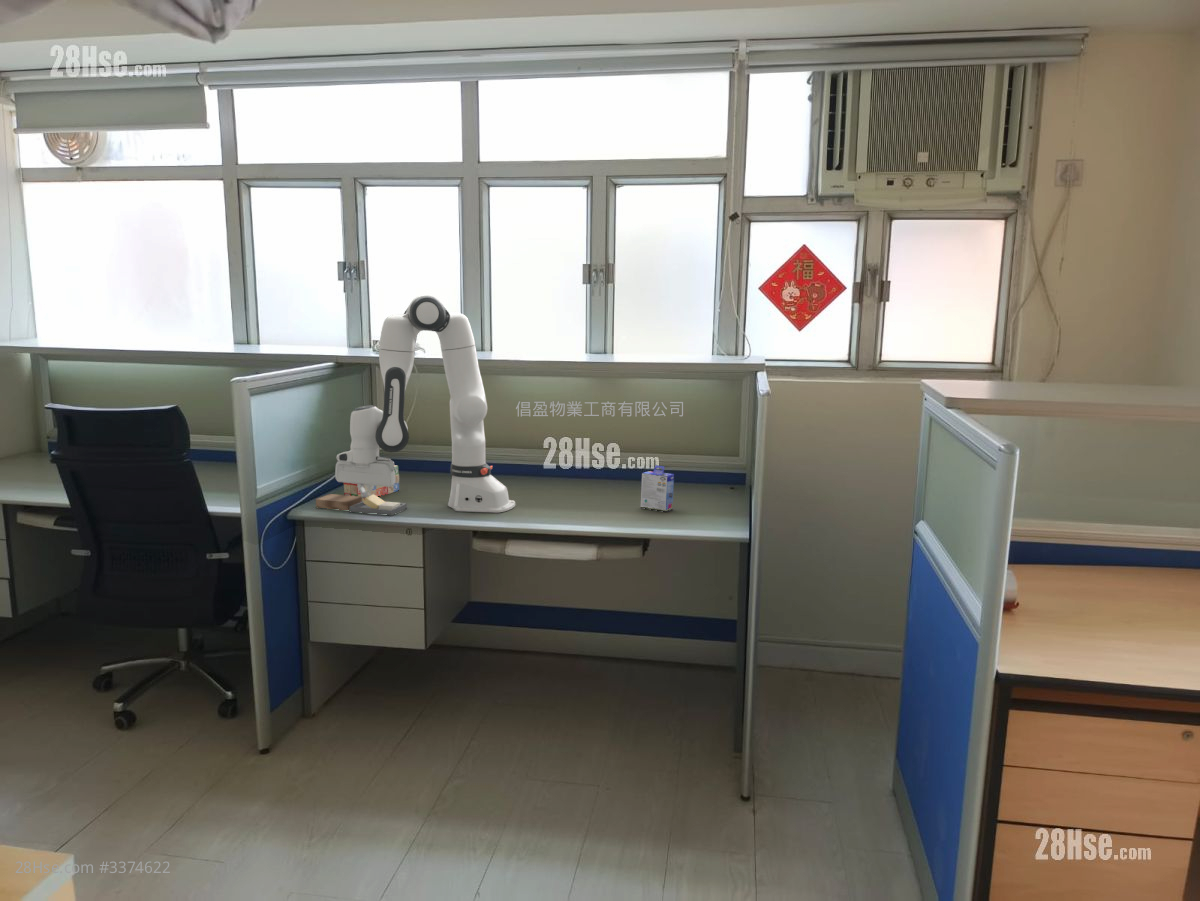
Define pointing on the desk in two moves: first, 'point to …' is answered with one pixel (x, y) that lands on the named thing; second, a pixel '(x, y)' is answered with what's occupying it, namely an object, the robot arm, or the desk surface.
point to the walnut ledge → (337, 501)
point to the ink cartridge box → (657, 489)
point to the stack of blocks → (353, 490)
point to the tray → (366, 509)
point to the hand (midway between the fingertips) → (365, 497)
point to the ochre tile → (373, 501)
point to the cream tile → (388, 505)
